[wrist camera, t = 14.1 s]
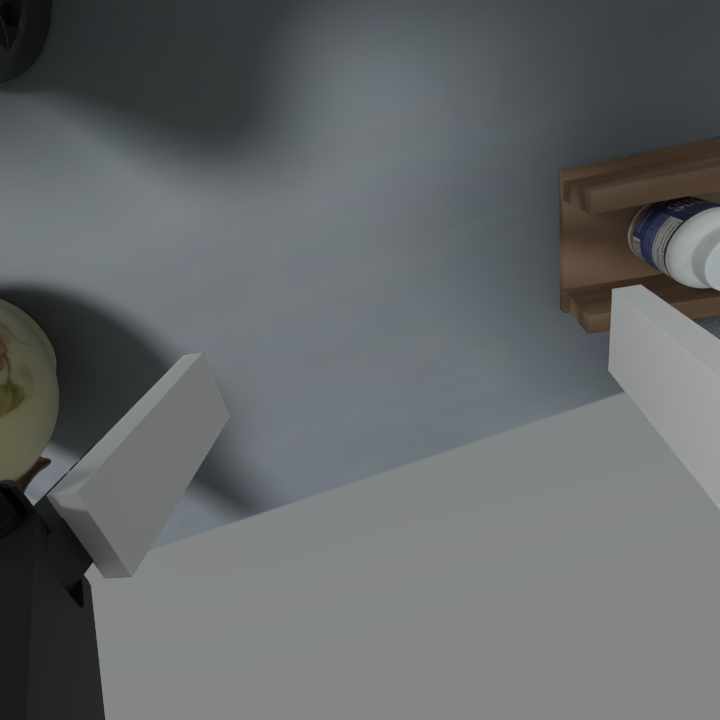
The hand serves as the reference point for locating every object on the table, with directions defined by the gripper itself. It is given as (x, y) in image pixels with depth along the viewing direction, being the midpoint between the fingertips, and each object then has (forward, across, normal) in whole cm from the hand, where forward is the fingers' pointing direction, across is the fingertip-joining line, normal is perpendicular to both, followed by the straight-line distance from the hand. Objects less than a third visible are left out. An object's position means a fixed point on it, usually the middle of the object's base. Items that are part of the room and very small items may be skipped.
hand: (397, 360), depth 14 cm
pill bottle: (+26, +20, -5) cm, 33 cm away
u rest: (+27, +19, -5) cm, 33 cm away
